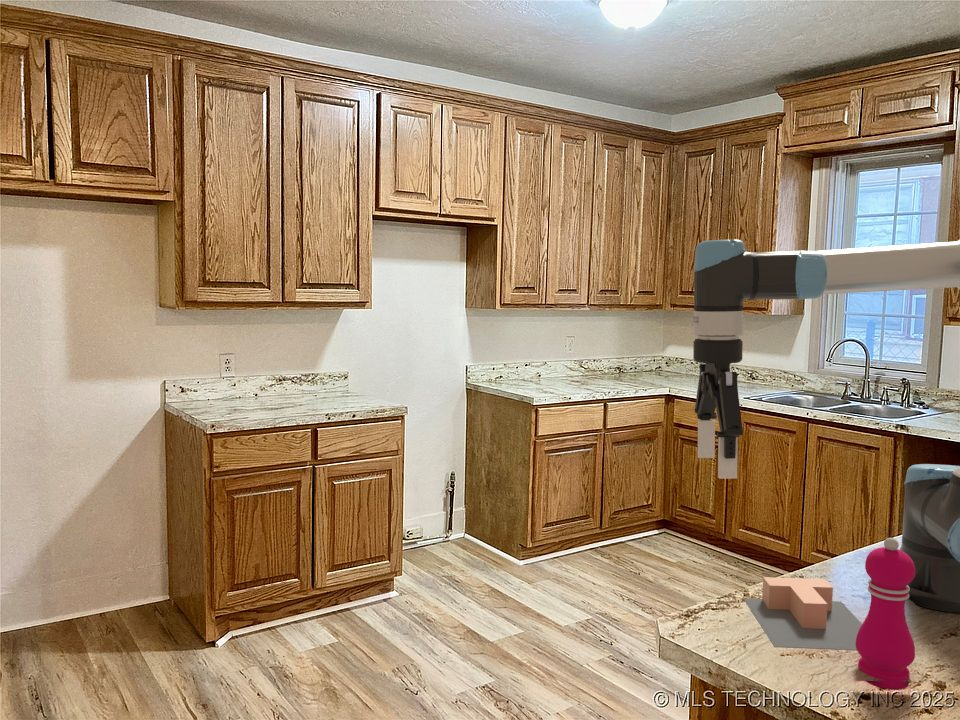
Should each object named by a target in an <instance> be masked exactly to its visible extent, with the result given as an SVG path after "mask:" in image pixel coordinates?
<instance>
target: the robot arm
mask: <svg viewBox="0 0 960 720" xmlns="http://www.w3.org/2000/svg"><path fill="white" fill-rule="evenodd" d="M694 253H695V254H694V268H693V306H694V307H693V315H694V316H692V317H690V318H689V319H690V323H692V324H693V334H694V335H695V336H697V338H695V339H694V341H693V354H692V355H693V360H694V361H695V362H696V363H699V378H698V383H697V391H696V392H697V393H696V399H695V407H694V413H695V414H696V417H697V419H698V420H697V458H698V459H715V456H716V452H715V450H716V446H715V445H716V442H715V441H716V438H718V451H717V453H718V455H717V456H718V457H717V458H718V459H717V463H718V464H717V465H718V466H717V478H718V479H720V480H721V479H724V480H727V479H729V480H730V479H731V480H732V479H738V454H739V453H738V449H739V448H738V443H739V437H740V436H743V434H744V429H743V421H742V413H741V405H740V398H739V390H738V389H739V388H738V376H739V375H738V372H737V371H731V367H730V366H731V364H737V363H741V361H743V342H744V341H743V340H742V339H741V338H740V337H741V336H743V335H744V300H745V301H746V300H747V301H748V300H749V301H752V300H798V301H802V300H811V299H812V300H813V299H818V298H820V297H822V295H833V294H835V295H837V294H855V293H870V292H871V293H875V292H892V291H893V292H894V291H910V290H928V289H929V290H931V289H946V288H947V289H948V288H950V289H952V288H957V289H958V290H960V238H959V239H957V241H944V242H932V243H916V244H914V243H913V244H902V245H901V244H900V245H899V244H898V245H887V246H886V245H885V246H872V247H857V248H841V249H827V250H826V249H825V250H803V249H802V250H788V251H787V250H786V251H781V250H780V251H763V252H761V251H760V252H755V251H751V252H750V251H746V249H745V244H744V241H742V240H740V239H711V240H704V241H701V242H699V243H698V244H697V245H696V246H695V251H694ZM716 420H717V421H718V426H719V430H720V431H717V432H716ZM903 486H904V497H903V513H902V514H903V516H902V528H901V529H902V532H901V534H902V535H901V536H902V537H901V544H900V545H901V547H900V548H899V550H901V551H903V552H905V553H906V554H907V555H908V556H909V557H910V558H911V559H912V561H913V563H914V566H915V576H914V579H913V580H912V581H911V582H910V583H909V584H908V586H909V588H910V591H909V598H908V600H910V601H911V602H912V603H913V604H915V606H916V605H917V606H919V607H922V608H925V609H931V610H936V611H941V612H947V613H956V614H957V613H959V614H960V465H951V464H935V463H934V464H933V463H920V464H917V463H916V464H911V466H909V467H908V468H907V470H906V474H905V480H904V482H903Z"/></svg>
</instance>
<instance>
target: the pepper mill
mask: <svg viewBox="0 0 960 720" xmlns="http://www.w3.org/2000/svg"><path fill="white" fill-rule="evenodd" d="M899 545H900V544H899V541H898V540H897V539H896V538H894V537H887V538H885V539H884V541H883V547H882V546H881V547H878V548H874V549H873V550H871V551H870V552H869V553H868V555H867V556H866V559H865V562H864V563H865V564H864V566H865V567H864V569H865V572H866V574H867V576H869V578H870V579H869V580H868V582H867V584H868V587H867V592H869V594H870V605H869V609H868V613H867V615H866V617H865V619H864V621H863V622H862V625H861V627H860V628H859V631H858V634H857V637H856V649H857V650H856V651H857V653H858V655H859V656H860V658H859V659H858V662H857V663H858V668H859V669H860V670H861V672H863V673H864V674H865V675H868V676H870V677H871V678H874V679H877V680H871V679H870V680H869V679H868V680H866V679H865V680H864V682H866V683H868V684H871V685H872V686H875V687H878V688H881V689H886V690H902V689H903V690H904V689H906V688H907V687H909V684H910V682H909V681H907V680H908V679H909V678H910V669H909V668H908V667H909V666H910V665H912V663H913V662H914V661H915V658H916V646H915V643H914V639H913V636H912V633H911V632H910V628H909V627H908V622H907V618H906V610H905V609H906V608H905V606H906V600H909V591H910V588H909V586H908V584H909V583H910V582H911V581H912V580H913V579H914V576H915V566H914V563H913V561H912V559H911V558H910V557H909V556H908V555H907V554H906V553H905V552H903V551H901V550H900V549H899V547H900V546H899Z"/></svg>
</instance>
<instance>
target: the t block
mask: <svg viewBox="0 0 960 720" xmlns="http://www.w3.org/2000/svg"><path fill="white" fill-rule="evenodd" d="M833 590H834V587H833V586H832V585H831V584H830V582H828V581H827V580H826V579H825V578H803V577H801V578H798V577H797V578H796V577H772V576H771V577H769V576H767V577H766V576H763V577H762V595H761V597H762V598H761V599H762V600H763V602H764V603H765V605H766V606H767V607H768V609H782V610H790V612H791V613H792V614H793V616H794V617H795V618H796V620H797V621H798V622H799V624H800V625H801V626H802V627H803V628H817V629H826V624H827V611H832V601H833V593H834V591H833Z"/></svg>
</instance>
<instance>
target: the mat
mask: <svg viewBox="0 0 960 720" xmlns="http://www.w3.org/2000/svg"><path fill="white" fill-rule="evenodd" d="M743 600H744V602H745V604H746V605H747V606H748V609H750V611H751V613H752V614H753V616H754V618H755V620H757V622H758V624H759V625H760V627H761V628H762V629H763V631H764V633H765V634H766V636H767V638H768V639H769V641H770V642H771V645H773V646H774V648H786V649H787V648H791V649H792V648H795V649H816V650H817V649H818V650H822V649H823V650H839V651H840V650H845V651H857V649H856V637H857V634H858V631H859V628H860V627H861V625H862V624H863V622H861V620H859V619H858V618H857V617H856V616H855V615H854V614H853V613H852V611H850V610H849V608H847V606H846V605H844V603H843V602H842V601H838V600H836V601H835V600H832V611H827V624H826V629H817V628H803V627H802V626H801V625H800V624H799V622H798V621H797V620H796V618H795V617H794V616H793V614H792V613H791V612H790V610H782V609H768V607H767V606H766V605H765V603H764V602H763V600H762V598H754V597H753V598H749V597H748V598H747V597H746V598H745V597H743Z"/></svg>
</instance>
